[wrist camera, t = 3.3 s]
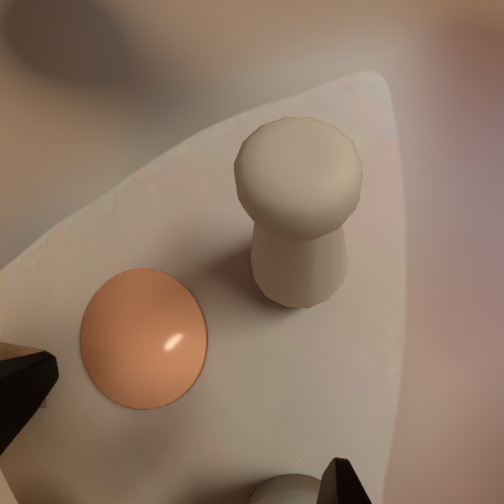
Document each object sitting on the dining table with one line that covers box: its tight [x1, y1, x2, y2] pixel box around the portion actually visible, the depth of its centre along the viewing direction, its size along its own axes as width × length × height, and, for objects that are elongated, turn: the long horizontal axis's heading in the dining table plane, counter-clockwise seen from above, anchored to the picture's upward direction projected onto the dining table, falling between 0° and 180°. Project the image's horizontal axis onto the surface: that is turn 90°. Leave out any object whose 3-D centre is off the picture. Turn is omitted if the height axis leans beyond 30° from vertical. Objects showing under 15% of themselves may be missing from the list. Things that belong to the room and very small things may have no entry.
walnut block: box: [0, 342, 46, 407], centre depth 19 cm, size 5×5×5 cm
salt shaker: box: [234, 117, 363, 308], centre depth 15 cm, size 6×6×13 cm
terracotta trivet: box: [80, 269, 208, 409], centre depth 21 cm, size 10×10×1 cm
